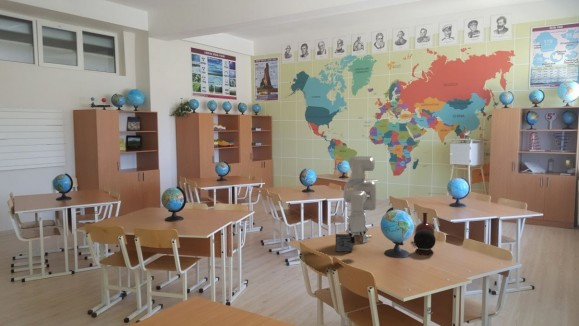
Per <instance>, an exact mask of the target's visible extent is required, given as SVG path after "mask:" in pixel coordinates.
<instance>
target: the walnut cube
mask: <svg viewBox="0 0 579 326" xmlns="http://www.w3.org/2000/svg"><path fill="white" fill-rule="evenodd" d="M363 244H364V243H363V236H361V235H359V234H355V235H354V244H353V246H359V245H363Z"/></svg>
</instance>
